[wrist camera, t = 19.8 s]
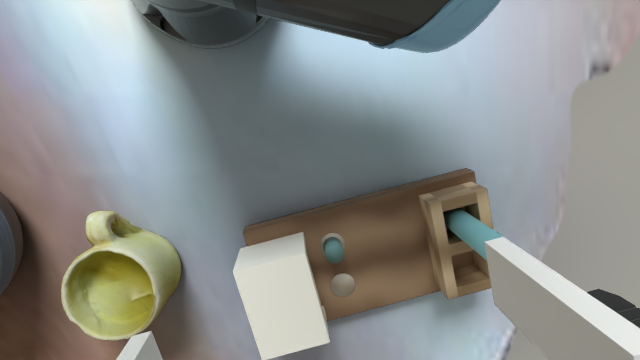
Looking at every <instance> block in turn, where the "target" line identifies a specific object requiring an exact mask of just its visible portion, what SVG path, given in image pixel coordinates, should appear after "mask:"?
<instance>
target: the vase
mask: <svg viewBox="0 0 640 360" xmlns="http://www.w3.org/2000/svg"><path fill="white" fill-rule="evenodd" d="M22 253H23V234H22V229H21V225H20V222H19V220H18V217H17V215H16V213H15V211H14V209H13V208H12V206H11V205H10V203H9V202H8V201H7V199H6V198H5V197H4V196H3V195H2V194H1V193H0V295H1V294H2V293H3V292H4V291H5V289H6V288H7V287H8V285H9V284H10V283H11V281H12V279H13V277H14V276H15V274H16V272H17V270H18V267H19V265H20V262H21V258H22Z"/></svg>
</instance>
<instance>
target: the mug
mask: <svg viewBox="0 0 640 360" xmlns="http://www.w3.org/2000/svg"><path fill="white" fill-rule="evenodd" d="M86 236H87V239H88V240H89V242H90V243H91V244H93V247H92V248H90V249H89V250H87V251H85V252H84V253H82V254H81V255H79V256H78V257H77V258H75V260H74V261H73V262H72V263H71V265H70V266H69V267H68V269H67V270H66V272H65V274H64V277H63V280H62V286H61V300H62V306H63V309H64V310H65V312H66V314H67V316H68V318H69V319H70V320H71V321H72V322H73V323H75V324H77V325H78V326H79V327H80V328H81V329H82V330H83V331H84V332H85V333H86V334H88V335H90V336H92V337H94V338H95V339H101V340H108V341H109V340H121V339H128V338H131V336H134V335H137V334H138V333H140V332H143V331H144V330H146V329H147V328H148V327H149V326H150V325H151V324H152V323H153V322H154V320H155V319H156V318H157V316H158V315H159V313H160V312H161V310H162V309H163V307H164V306H165V304H166V303H167V301H168V300H169V298H170V297H171V296H172V294H173V293H174V292H175V290H176V288H177V286H178V284H179V281H180V277H181V261H180V258H179V255H178V253H177V251H176V250H175V248H174V247H173V245H172V244H171V243H170V242H169V241H168V240H166V239H165V238H163V237H162V236H160V235H158V234H155V233H152V232H149V231H145V230H142V229H141V228H139V227H136V226H133V225H131V224H130V223H129V221H127V220H126V219H125V218H123V217H121V216H120V215H119V214H117V213H115V212H113V211H98V212H94V213H91V214H90V215H89V216H88V217H87V220H86Z"/></svg>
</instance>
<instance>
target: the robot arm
mask: <svg viewBox="0 0 640 360" xmlns="http://www.w3.org/2000/svg"><path fill="white" fill-rule="evenodd" d="M131 1H132V2H133V4H134V5H135V7H136V8H137V9H138V11H139V12H140V13H141V14H142V15H143V16H144V17H145V18H146V20H147V21H149V22H150V23H151V24H152V25H153V26H154V27H156V28H157V29H158V30H160V31H161V32H162V33H164V34H166V35H168V36H169V37H171V38H173V39H175V40H178V41H180V42H182V43H185V44H188V45H191V46H195V47H200V48H223V47H228V46H232V45H235V44H237V43H240V42H242V41H244V40H246V39H248V38H249V37H251V36H252V35H254V34H255V33H256V32H257V31H259V30H260V29H261V28H262V27H263V26H264V24H265V23H266V22H267V21H268V20H269V18H271V19H275V20H279V21H284V22H288V23H292V24H296V25H300V26H304V27H309V28H313V29H317V30H321V31H325V32H330V33H334V34H338V35H342V36H346V37H350V38H355V39H359V40H363V41H367V42H368V43H369V44H371V45H372V46H374V47H377V48H382V49H384V48H388V49H391V48H399V49H404V50H410V51H415V52H421V53H428V52H437V51H440V50H444V49H447V48H449V47H451V46H453V45H455V44H456V43H458V42H460V41H461V40H462V39H464V38H465V37H466V36H468V35H469V34H470V33H471V32H472V31H474V30H475V29H476V28H477V27H478V26H479V25H480V24H481V23H482V22H483V21H484V20H485V19H486V18H487V17H488V15H489V14H490V13H491V12H492V11H493V10H494V8H495V7H496V6H497V5H498V3H499V2H500V1H501V0H131ZM484 243H485V249H486V256H487V262H488V268H489V274H490V280H491V287H492V293H493V299H494V304H495V305H496V306H497V307H498V308H499V310H500V311H501V312H502V313H503V314H504V315H505V316H506V317H507V318H508V319H509V320H510V321H511V322H512V323H513V324H514V325H515V326H516V327H517V328H518V329H519V330H520V331H521V332H522V333H523V334H524V335H525V336H526V337H527V338H528V339H529V341H530V342H531V343H532V344H533V345H534V346H535V347H536V348H537V349H538V350H539V351H540V352H541V353H542V354H543V355H544V356H545V357H546V358H547V359H548V360H640V308H636V306H635V305H633V304H632V303H630V302H628V301H627V300H625V299H623V298H622V297H620V296H618V295H615V294H612V293H609V292H606V291H603V290H600V289H597V290H593V291H589V292H585V291H583V290H582V289H580V288H579V287H577V286H576V285H574V284H573V283H571V282H570V281H569V280H567V279H566V278H564V277H562V276H561V275H560V274H558V273H557V272H555V271H553V270H552V269H551V268H549V267H548V266H546V265H545V264H543V263H542V262H540V261H539V260H537V259H536V258H534V257H533V256H531V255H530V254H528V253H527V252H525V251H524V250H522V249H521V248H519V247H518V246H516V245H515V244H513V243H512V242H510V241H509V240H508V239H506V238H505V237H501V238H497V239H493V240H489V241H486V242H484ZM116 360H163V359H162V356H161V354H160V351H159V349H158V346H157V344H156V341H155V339H154V336H153V334H152V331H149V332H145V333H142V334H138V335H134V336H131V338H130V339H129V341H128V343H127V344H126V346H125V347H124V349H123V350H122V352H121V353H120V355H119V356H118V358H117V359H116Z"/></svg>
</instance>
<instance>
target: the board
mask: <svg viewBox="0 0 640 360" xmlns="http://www.w3.org/2000/svg"><path fill="white" fill-rule="evenodd" d="M456 208H461V209H462V210H464V211H465V212H467V213H468V214H470V215H472V216H473V217H475V218H476V219H478V220H479V221H481V222H482V223H484V224H485V225H487V226H488V227H490V228H491V229H493V225H492V218H491V212H490V205H489V199H488V192H487V189H486V188H484V187H482V186H480V185H478V184H476V180H475V173H474V171H472V170H469V169H467V168H465V169H461V170H457V171H454V172H450V173H446V174H442V175H438V176H435V177H431V178H427V179H423V180H420V181H416V182H412V183H408V184H404V185H401V186H397V187H393V188H389V189H385V190H382V191H378V192H374V193H370V194H366V195H363V196H359V197H355V198H351V199H348V200H344V201H340V202H336V203H332V204H329V205H325V206H321V207H317V208H313V209H310V210H306V211H302V212H298V213H295V214H291V215H287V216H283V217H279V218H276V219H272V220H268V221H264V222H260V223H257V224H253V225H249V226H245V228H244V231H243V235H244V238H245V241H246V244H247V246H251V245H255V244H259V243H262V242H266V241H270V240H274V239H278V238H281V237H285V236H289V235H293V234H296V233H300V232H303V233H304V237H305V244H306V252H307V256H308V259H309V263H310V266H311V270H312V274H313V277H314V281H315V284H316V288H317V291H318V295H319V299H320V302H321V306H324V309H325V313H326V319H327V321H330V320H334V319H337V318H341V317H345V316H349V315H352V314H356V313H360V312H363V311H367V310H371V309H375V308H378V307H382V306H386V305H389V304H393V303H397V302H401V301H404V300H408V299H412V298H415V297H419V296H423V295H427V294H430V293H434V292H438V291H442V292H443V294H444V295H445V296H446V298H447V299H448V300H449V299H452V298H456V297H460V296H463V295H467V294H471V293H475V292H478V291H482V290H486V289H489V288H492V287H491V280H490V274H489V268H488V262H487V260H485V259H484V258H483V257H482V256H481V255H479V254H478V253H477V252H476V251H475V250H473V249H472V248H471V247H470V246H469V245H467V244H466V243H465V242H464V241H463V240H461V239H460V238H459V237H458V236H457V235H456V234H454V233H453V232H452V231H451V230H450V229H448V228H447V227H446V226H445V222H444V216H443V212H444V211H448V210H452V209H456Z"/></svg>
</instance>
